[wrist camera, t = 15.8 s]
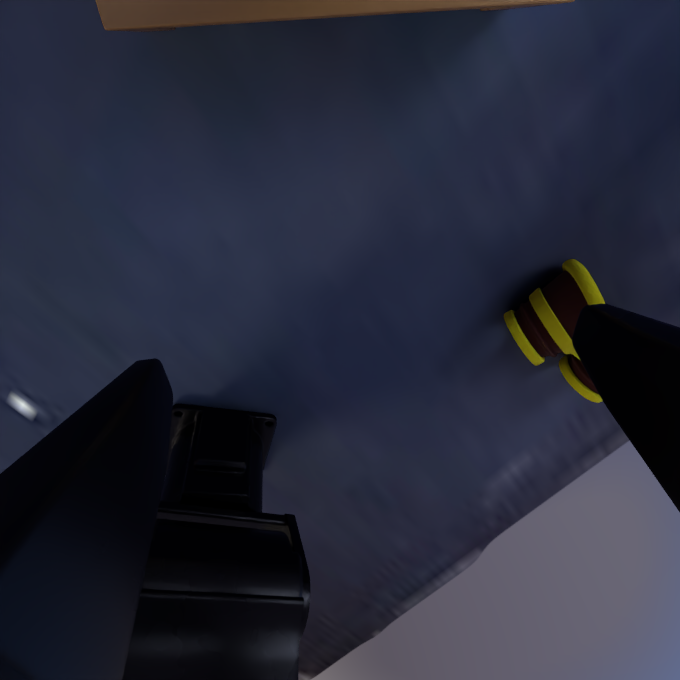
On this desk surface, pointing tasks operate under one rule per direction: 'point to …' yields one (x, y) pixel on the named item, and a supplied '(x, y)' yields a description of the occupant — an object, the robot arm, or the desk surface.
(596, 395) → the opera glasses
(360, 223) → the desk surface
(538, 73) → the desk surface
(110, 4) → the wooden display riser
